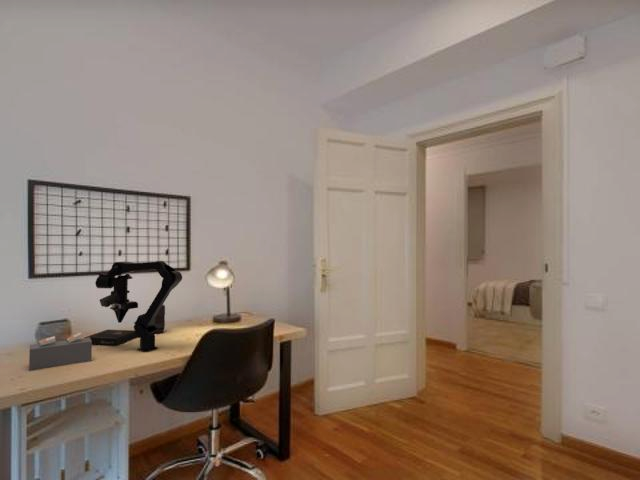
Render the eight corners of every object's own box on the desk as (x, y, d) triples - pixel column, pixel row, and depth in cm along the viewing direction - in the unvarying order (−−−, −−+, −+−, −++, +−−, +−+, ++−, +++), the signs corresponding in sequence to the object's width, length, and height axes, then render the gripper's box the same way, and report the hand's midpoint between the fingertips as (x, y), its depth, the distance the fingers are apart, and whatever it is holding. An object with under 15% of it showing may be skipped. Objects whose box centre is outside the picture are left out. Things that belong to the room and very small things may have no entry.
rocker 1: (55, 338, 146) (54, 335, 146) (55, 340, 143) (55, 337, 142) (40, 343, 143) (39, 340, 143) (40, 345, 140) (39, 342, 139)
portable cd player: (138, 338, 187) (138, 330, 187) (116, 347, 170) (116, 338, 170) (108, 336, 189) (108, 329, 189) (83, 345, 172) (84, 337, 172)
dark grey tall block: (146, 332, 196) (146, 305, 197) (161, 330, 202) (161, 303, 202) (151, 335, 191) (152, 307, 191) (167, 333, 196) (167, 305, 197)
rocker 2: (81, 334, 151) (80, 331, 151) (82, 336, 148) (81, 333, 148) (68, 340, 148) (67, 338, 148) (69, 343, 145) (67, 340, 145)
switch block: (89, 356, 155) (89, 337, 155) (91, 360, 148) (91, 341, 148) (29, 365, 142) (29, 344, 142) (29, 370, 136) (29, 349, 136)
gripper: (91, 289, 164) (90, 323, 164) (115, 292, 155) (114, 328, 155) (115, 286, 174) (114, 319, 174) (139, 289, 165) (138, 323, 164)
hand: (119, 322), depth 166 cm, fingers closed
